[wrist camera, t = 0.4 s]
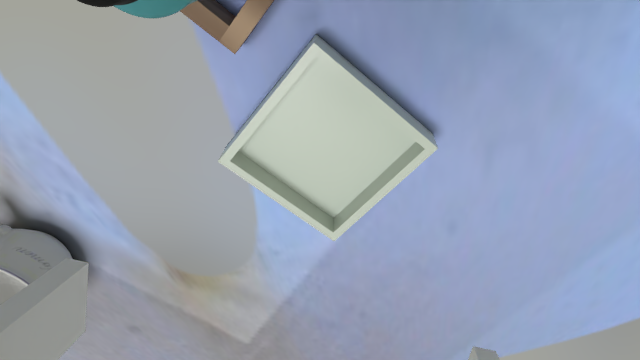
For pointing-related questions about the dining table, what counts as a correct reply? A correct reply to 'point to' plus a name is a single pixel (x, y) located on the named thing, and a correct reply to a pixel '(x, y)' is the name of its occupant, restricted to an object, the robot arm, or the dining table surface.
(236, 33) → the socket block
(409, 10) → the dining table surface
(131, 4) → the beverage bottle
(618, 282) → the dining table surface
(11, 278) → the teacup
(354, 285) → the dining table surface
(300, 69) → the tray
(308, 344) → the dining table surface
